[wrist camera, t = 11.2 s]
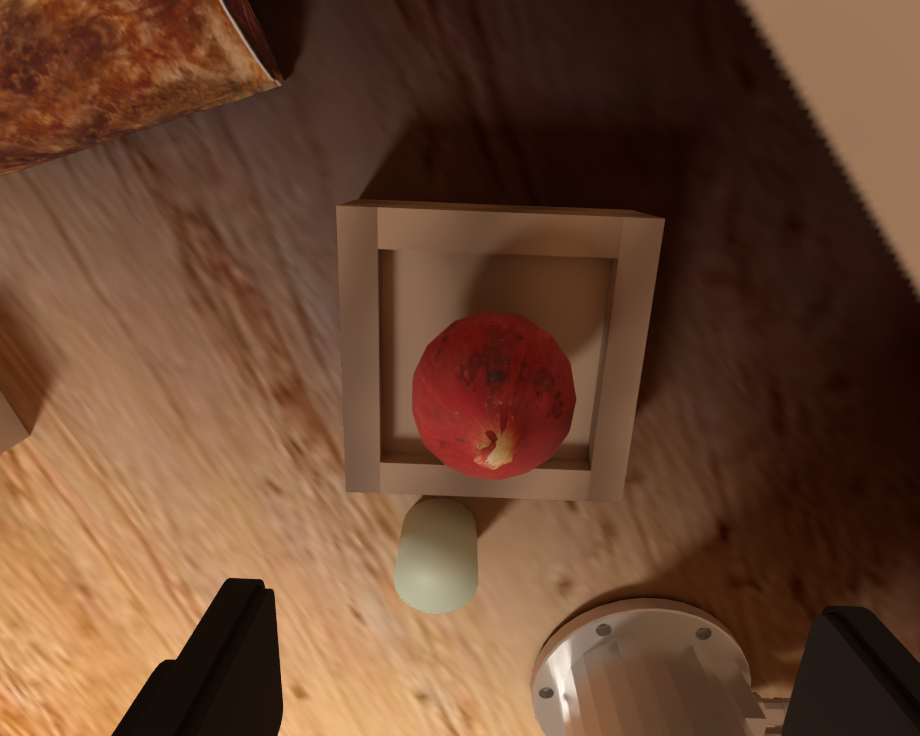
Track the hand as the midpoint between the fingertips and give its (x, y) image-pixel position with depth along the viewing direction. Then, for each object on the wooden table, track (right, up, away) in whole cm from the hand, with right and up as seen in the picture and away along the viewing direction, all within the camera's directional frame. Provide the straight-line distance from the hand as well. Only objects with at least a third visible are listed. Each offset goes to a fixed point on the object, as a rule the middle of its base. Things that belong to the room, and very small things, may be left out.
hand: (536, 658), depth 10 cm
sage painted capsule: (-2, -4, +21) cm, 21 cm away
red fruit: (0, +5, +14) cm, 15 cm away
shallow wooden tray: (0, +7, +17) cm, 18 cm away
